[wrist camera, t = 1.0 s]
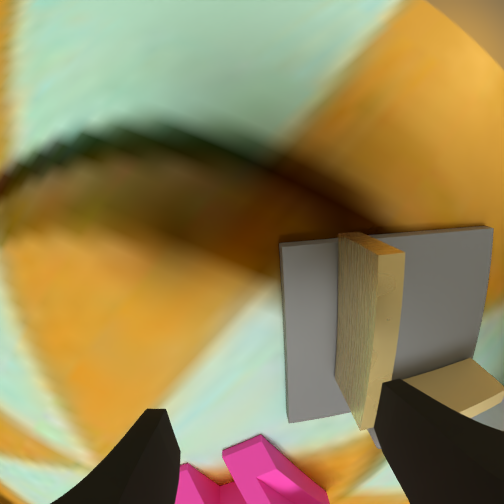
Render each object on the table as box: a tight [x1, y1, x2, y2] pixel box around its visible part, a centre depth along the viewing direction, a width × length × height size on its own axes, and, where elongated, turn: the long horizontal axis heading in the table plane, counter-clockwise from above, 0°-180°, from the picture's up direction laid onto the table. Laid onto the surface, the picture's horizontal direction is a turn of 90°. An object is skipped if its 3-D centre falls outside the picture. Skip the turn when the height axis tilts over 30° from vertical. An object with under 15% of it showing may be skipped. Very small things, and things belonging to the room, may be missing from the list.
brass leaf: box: [335, 232, 405, 431], centre depth 14 cm, size 9×1×5 cm, turn 4°
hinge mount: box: [279, 226, 504, 449], centre depth 15 cm, size 15×12×6 cm
